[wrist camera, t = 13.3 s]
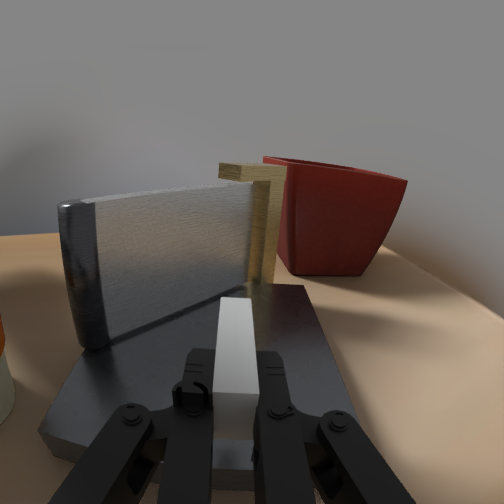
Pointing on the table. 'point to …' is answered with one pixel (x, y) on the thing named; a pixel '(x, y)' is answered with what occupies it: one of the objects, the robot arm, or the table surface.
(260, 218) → the wooden l-shaped post
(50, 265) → the table surface
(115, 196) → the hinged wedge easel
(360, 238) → the plant pot
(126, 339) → the dark grey flat slab
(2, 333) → the reusable coffee cup
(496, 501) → the table surface
